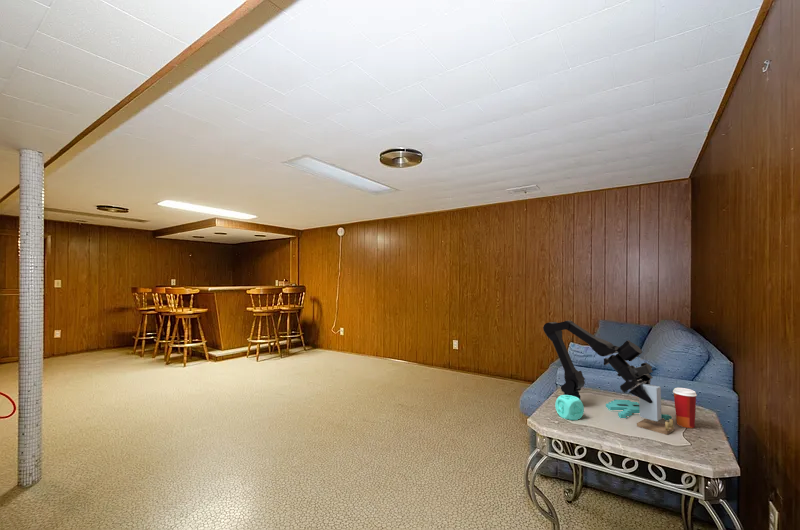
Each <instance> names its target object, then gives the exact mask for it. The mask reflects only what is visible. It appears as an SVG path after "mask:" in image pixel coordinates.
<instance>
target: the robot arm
mask: <svg viewBox="0 0 800 530" xmlns="http://www.w3.org/2000/svg"><path fill="white" fill-rule="evenodd" d="M542 330H543V332H544V334H545V336H546V337H547V338H548V340H550V341H551V342H552V344H553V346H554V349H555V351H556V353H557V356H558V359H559V361H560V363H561V364H560V365H561V366H562V368H563V370H564V375H563V377H564V381H565V383H563V384H562V385H561V386H560V389H561V392H563V395H571V396H575V397H578V398H579V399H580V400H581V395H580V391H581V390H582V388H583V387H585V384H586V378H585V377H584V375H583V372H582V370H577V368H575V366H574V363H573V360H572V358H571V356H570V354H569V351H568V349H567V347H566V344H565V342H564V339H563V331H565V330H567V331H568V332H570V333H571V334H573V335H574V336H576V337H577V338H579V339H581V340H582V341H583V342H584V343H586V344H588V346H590V348H591V350H592V351H594V353H596V354H597V355H598V356H600V357H605V358H603V365H604V366H607V365H610V366H611V367H612V368H613V370H615V371H616V372H617V374H616V376H618V377H621V378H622V379H623V380H624V382H623V383H622V384H621V385H619V388H620V390H621V391H622V393H623V394H625V393H627V392H628V391H629V392H628V393H629V394H631V395H633V396H635V397H638V399H639V398H641V399H643V400H645V401H647V402H649V403H652V402H653V401H652V400H651V398H650V397H649V396H648V394H647V393H646V392H645V390H644V389H643V383H645V384H650V385H651V382H652V379H653V376H652V374H651V373H654V371H653V366H652V365H650V363H648V362H642V363H640V366H638V367H635V366H634V365H633V364H631V365H630V364H629V362H632V361H634V360H635V359H636V358H637V357H639V356H640V355H642V354H643V351H642V348H640V347H639V346H638V345H637V344H635V343H633V342H631V341H630V340H628V339H627V340H626V341H625V342H624V343H623V344H621V346H617V345H614V344H613V343H612V342H610V341H608V340H605V339H603V338H599V337H596V336H595V335H593V334H592V333H590V332H589V331H587V330H585V328H583V327H581V326H580V325H578V324H576V323H575V322H574V321H572V320H564V321H560V322H556V321H553V322H552V321H551V322H550V321H549V322H546V323H544V325H543V328H542ZM608 356H609V357H608ZM606 357H607V358H606ZM581 401H582V400H581Z"/></svg>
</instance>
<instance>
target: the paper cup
mask: <svg viewBox="0 0 800 530" xmlns="http://www.w3.org/2000/svg"><path fill="white" fill-rule="evenodd" d="M672 393H673V399H674V401H673V402H674V410H675V419H676V424H677V425H678V427H682V428H685V429H695V424H696V409H697V408H696V405H697V404H696V403H697V396H698V395H697V393H696V391H694V390H693V389H691V388H684V387H675V388H674V389H673V390H672Z"/></svg>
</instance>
